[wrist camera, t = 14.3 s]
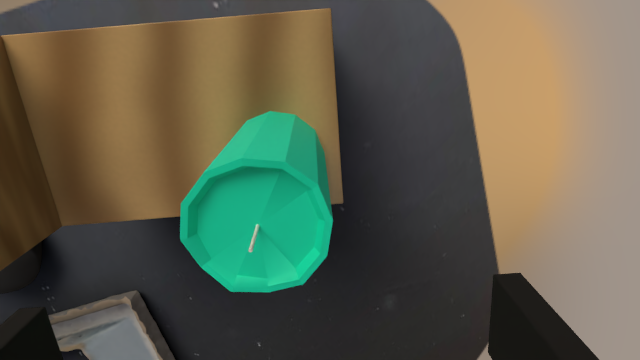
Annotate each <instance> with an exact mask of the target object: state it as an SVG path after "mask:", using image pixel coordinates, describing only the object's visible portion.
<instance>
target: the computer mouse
mask: <svg viewBox="0 0 640 360" xmlns="http://www.w3.org/2000/svg"><path fill="white" fill-rule="evenodd" d="M41 260H42V242H40V243H38V244H37V245H35V246H34V247H33V248H31V249H30V250H29V251H27V252H26V253H24V254H23V255H22V256H20V257H19V258H18V259H16V260H15V261H13V262H12V263H11V264H9V265H8V266H7V267H5V268H4V269H2V270H1V271H0V294H3V293H8V292H12V291H16V290H19V289H21V288H24V287H25V286H27V285H29V284H30V283H31V282H32V281H33V280H34V279H35V278H36V277H37V274H38V272H39V270H40V266H41Z"/></svg>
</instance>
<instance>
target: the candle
mask: <svg viewBox="0 0 640 360" xmlns="http://www.w3.org/2000/svg"><path fill="white" fill-rule="evenodd" d="M332 224H333V217H332V209H331V201H330V193H329V185H328V177H327V169H326V161H325V153H324V150H323V148H322V145H321V143H320V140H319V138H318V135H317V133H316V131H315V129H313V128H312V127H311V126H310V125H308V124H307V123H306V122H304V121H303V120H302V119H300V118H299V117H298V116H297V115H295V114H288V113H281V112H274V111H269V112H267V113H264V114H262V115H259V116H257V117H254V118H252V119H249V120H247V121H246V122H245V124H244V125H243V126H242V127H241V128H240V130H239V131H238V132H237V133H236V134H235V135H234V137H233V138H232V139H231V140H230V141H229V143H228V144H227V145H226V146H225V147H224V149H223V150H222V151H221V152H220V153H219V155H218V156H217V157H216V158H215V159H214V161H213V162H212V163H211V164H210V165H209V167H208V168H207V169H206V170H205V171H204V173H203V174H202V175H201V177H200V178H199V179H198V181H197V182H196V183H195V185H194V186H193V188H192V189H191V190H190V192H189V193H188V194H187V196H186V197H185V198H184V200H183V201H182V203H181V209H180V240H181V242H182V243H183V244H184V246H185V247H186V248H187V250H188V251H189V252H190V254H191V255H192V256H193V258H194V259H195V260H196V262H197V263H198V264H199V266H200V267H201V268H202V269H203V270H205V271H206V272H207V273H208V274H210V275H211V276H212V277H213V278H214V279H216V280H217V281H218V282H219V283H221V284H222V285H223V286H224V287H225V288H227V289H228V290H229V291H230V292H272V291H277V290H281V289H285V288H290V287H294V286H298V285H303V284H304V283H305V282H306V281H307V279H308V278H309V277H310V276H311V275H312V274H313V272H314V271H315V270H316V269H317V268H318V266H319V265H320V264H321V263H322V262H323V261H324V259H325V258H326V257H327V254H328V248H329V242H330V236H331V230H332Z"/></svg>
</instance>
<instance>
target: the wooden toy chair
mask: <svg viewBox="0 0 640 360" xmlns="http://www.w3.org/2000/svg"><path fill="white" fill-rule="evenodd" d="M269 111H274V112H281V113H288V114H295V115H297V116H298V117H299V118H300V119H302V120H303V121H304V122H306V123H307V124H308V125H310V126H311V127H312V128H313V129H315V131H316V133H317V135H318V138H319V140H320V143H321V145H322V148H323V150H324V153H325V161H326V169H327V177H328V185H329V193H330V201H331V204H340V203H343V191H342V175H341V160H340V144H339V128H338V113H337V97H336V81H335V66H334V50H333V34H332V19H331V9H330V8H327V9H315V10H303V11H291V12H279V13H267V14H255V15H243V16H231V17H219V18H207V19H195V20H183V21H171V22H159V23H147V24H135V25H123V26H111V27H99V28H87V29H75V30H63V31H51V32H39V33H27V34H15V35H3V36H0V271H1V270H2V269H4V268H5V267H7V266H8V265H9V264H11V263H12V262H13V261H15V260H16V259H18V258H19V257H20V256H22V255H23V254H24V253H26V252H27V251H29V250H30V249H31V248H33V247H34V246H35V245H37V244H38V243H40V242H41V241H42V240H44V239H45V238H46V237H48V236H49V235H51V234H52V233H53V232H55V231H56V230H57V229H59V228H60V227H62V226H68V225H80V224H92V223H105V222H117V221H130V220H142V219H154V218H167V217H179V216H180V209H181V203H182V201H183V200H184V198H185V197H186V196H187V194H188V193H189V192H190V190H191V189H192V188H193V186H194V185H195V183H196V182H197V181H198V179H199V178H200V177H201V175H202V174H203V173H204V171H205V170H206V169H207V168H208V167H209V165H210V164H211V163H212V162H213V161H214V159H215V158H216V157H217V156H218V155H219V153H220V152H221V151H222V150H223V149H224V147H225V146H226V145H227V144H228V143H229V141H230V140H231V139H232V138H233V137H234V135H235V134H236V133H237V132H238V131H239V130H240V128H241V127H242V126H243V125H244V124H245V122H246V121H247V120H249V119H252V118H254V117H257V116H259V115H262V114H264V113H267V112H269Z"/></svg>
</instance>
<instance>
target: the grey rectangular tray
mask: <svg viewBox="0 0 640 360" xmlns="http://www.w3.org/2000/svg"><path fill="white" fill-rule="evenodd" d="M48 317H49V320H50V323H51V326H52V328H53V331H54V334H55V337H56V340H57V343H58V346H59V349H60V351H71V350H74V349H81V350H82V352H83V353H84V355H85V356H86V357H88V359H89V360H175V358H174V356H173V354H172V353H171V351H170V350H169V347H168V345H167V343H166V342H165V339H164V338H163V336H162V334H161V333H160V331H159V328H158V327H157V324H156V322H155V321H154V320H153V318H152V316H151V315H150V313H149V311H148V309H147V307H146V304H145V303H144V301H143V299H142V298H141V296H140V294H139V292H138V291H131V292H127V293H123V294H121V295H114V296H110V297H108V298H106V299H102V300H99V301H96V302H93V303H89V304H86V305H82V306H79V307H76V308H73V309H68V310H65V311H61V312H58V313H55V314H52V315H49V316H48Z"/></svg>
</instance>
